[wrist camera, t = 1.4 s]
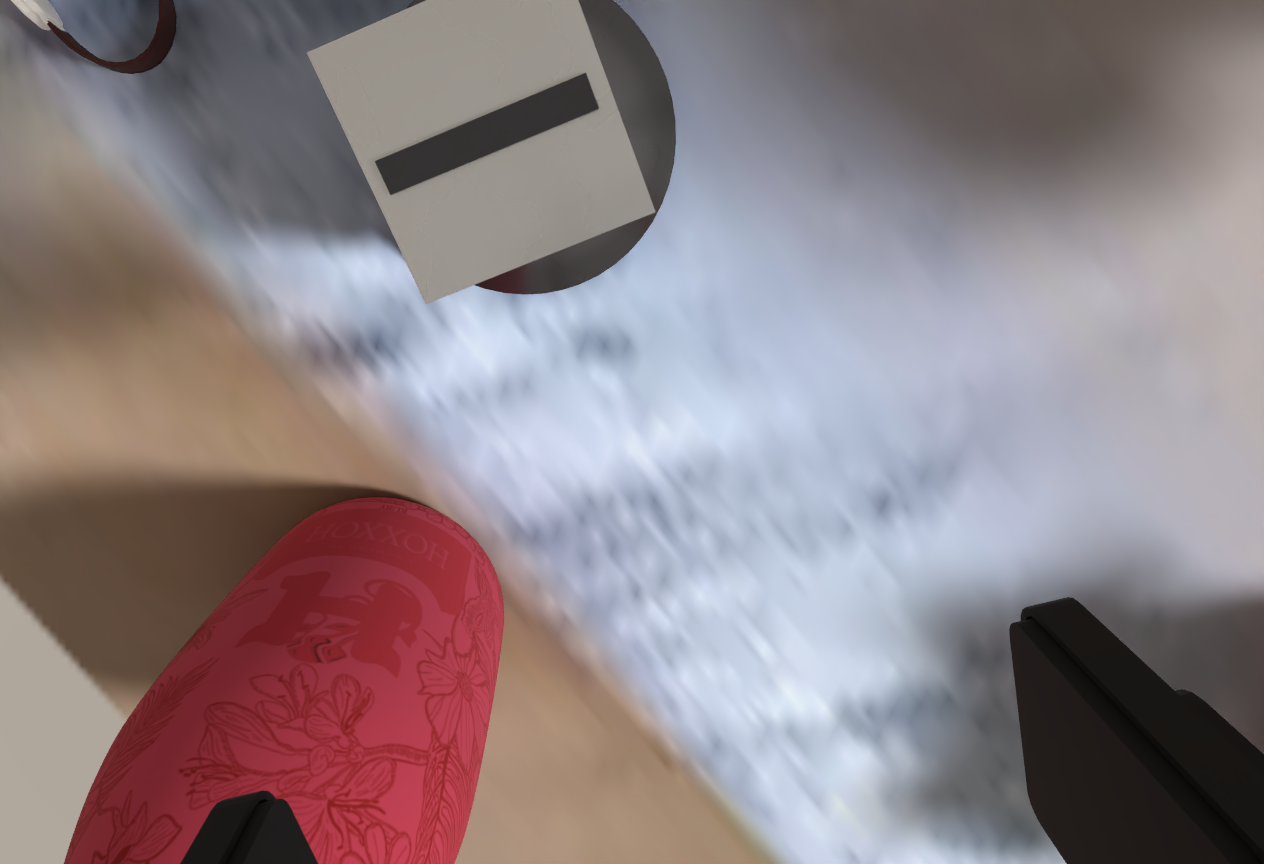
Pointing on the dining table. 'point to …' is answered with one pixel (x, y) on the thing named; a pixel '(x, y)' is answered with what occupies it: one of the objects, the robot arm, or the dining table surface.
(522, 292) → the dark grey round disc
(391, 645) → the wine bottle
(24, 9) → the watch
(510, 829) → the dining table surface
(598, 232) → the slotted metal cube
